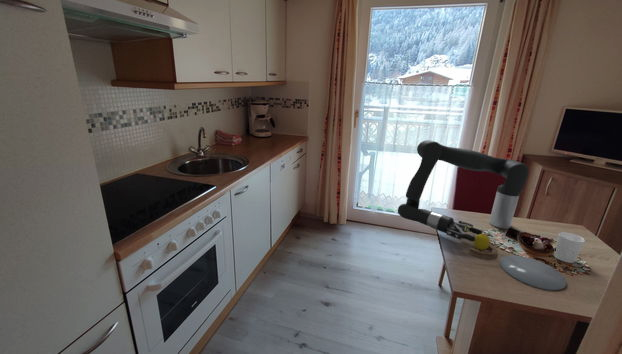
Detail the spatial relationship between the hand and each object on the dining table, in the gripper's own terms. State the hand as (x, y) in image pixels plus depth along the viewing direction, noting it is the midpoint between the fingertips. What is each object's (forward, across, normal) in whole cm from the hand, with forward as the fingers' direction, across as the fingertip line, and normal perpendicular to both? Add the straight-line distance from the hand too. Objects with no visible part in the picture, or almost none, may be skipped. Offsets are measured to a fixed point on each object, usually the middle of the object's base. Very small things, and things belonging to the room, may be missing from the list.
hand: (478, 236), depth 118 cm
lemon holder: (+3, 0, +6) cm, 7 cm away
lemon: (+2, 0, +6) cm, 6 cm away
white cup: (+27, +22, +6) cm, 35 cm away
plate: (+20, -1, +6) cm, 21 cm away
